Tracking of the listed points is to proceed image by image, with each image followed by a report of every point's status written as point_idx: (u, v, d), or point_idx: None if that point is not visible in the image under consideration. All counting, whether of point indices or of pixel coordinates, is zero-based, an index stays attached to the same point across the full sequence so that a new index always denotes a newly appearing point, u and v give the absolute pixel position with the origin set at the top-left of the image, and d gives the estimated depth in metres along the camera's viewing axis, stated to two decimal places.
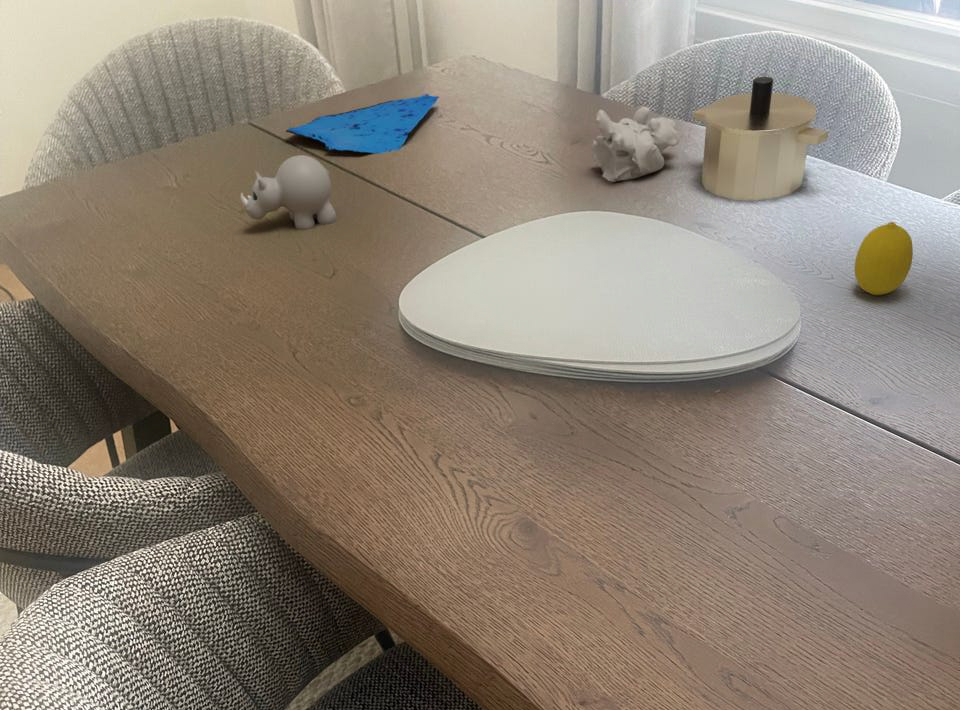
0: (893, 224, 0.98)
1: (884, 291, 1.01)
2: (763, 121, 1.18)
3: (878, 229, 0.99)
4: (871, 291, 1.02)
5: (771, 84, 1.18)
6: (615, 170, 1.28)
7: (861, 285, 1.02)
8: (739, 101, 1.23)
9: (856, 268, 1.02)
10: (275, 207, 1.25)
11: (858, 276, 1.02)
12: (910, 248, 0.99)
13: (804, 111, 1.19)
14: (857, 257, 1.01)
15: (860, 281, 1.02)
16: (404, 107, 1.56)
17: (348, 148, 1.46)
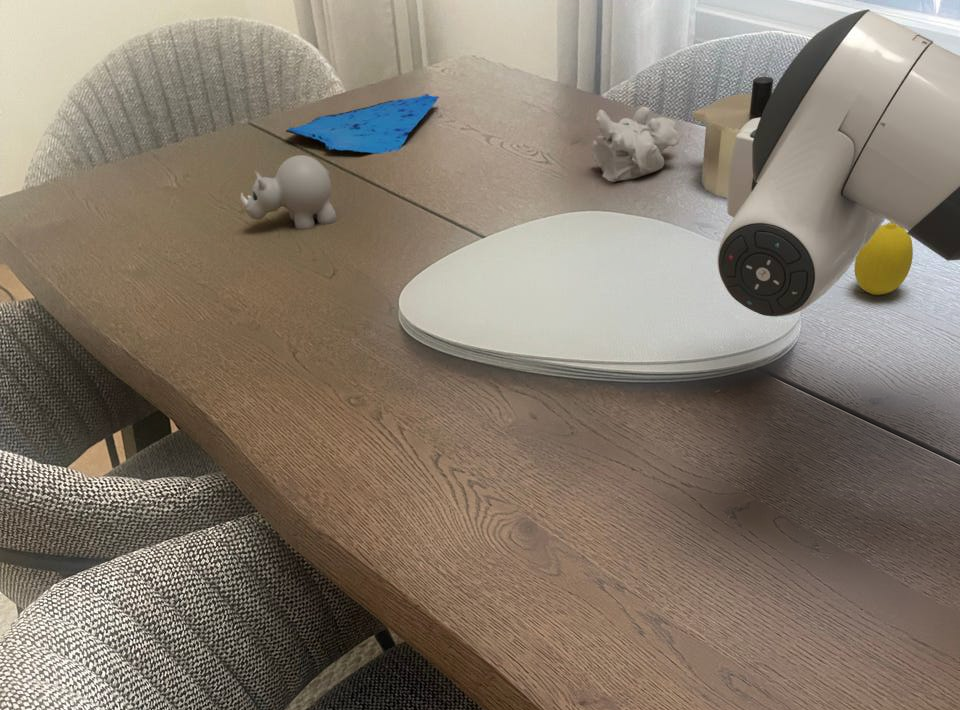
0: (893, 224, 0.98)
1: (884, 291, 1.01)
2: None
3: (878, 229, 0.99)
4: (871, 291, 1.02)
5: (771, 84, 1.18)
6: (615, 170, 1.28)
7: (861, 285, 1.02)
8: (739, 101, 1.23)
9: (856, 268, 1.02)
10: (275, 207, 1.25)
11: (858, 276, 1.02)
12: (910, 248, 0.99)
13: None
14: (857, 257, 1.01)
15: (860, 281, 1.02)
16: (404, 107, 1.56)
17: (348, 148, 1.46)
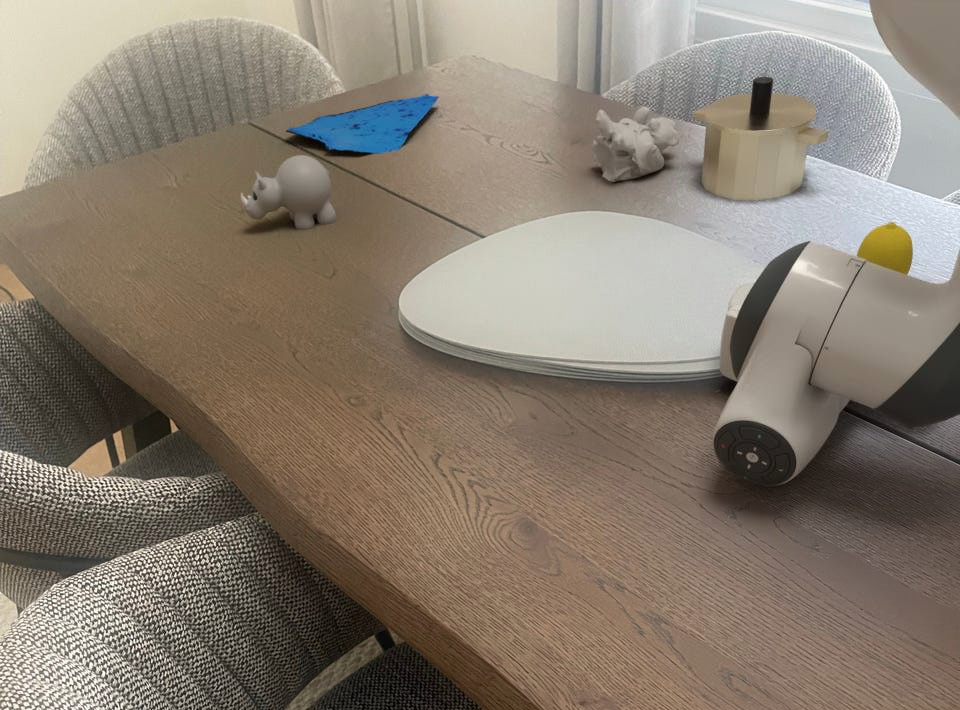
0: (893, 224, 0.98)
1: None
2: (763, 121, 1.18)
3: (878, 229, 0.99)
4: None
5: (771, 84, 1.18)
6: (615, 170, 1.28)
7: None
8: (739, 101, 1.23)
9: None
10: (275, 207, 1.25)
11: None
12: (910, 248, 0.99)
13: (804, 111, 1.19)
14: None
15: None
16: (404, 107, 1.56)
17: (348, 148, 1.46)
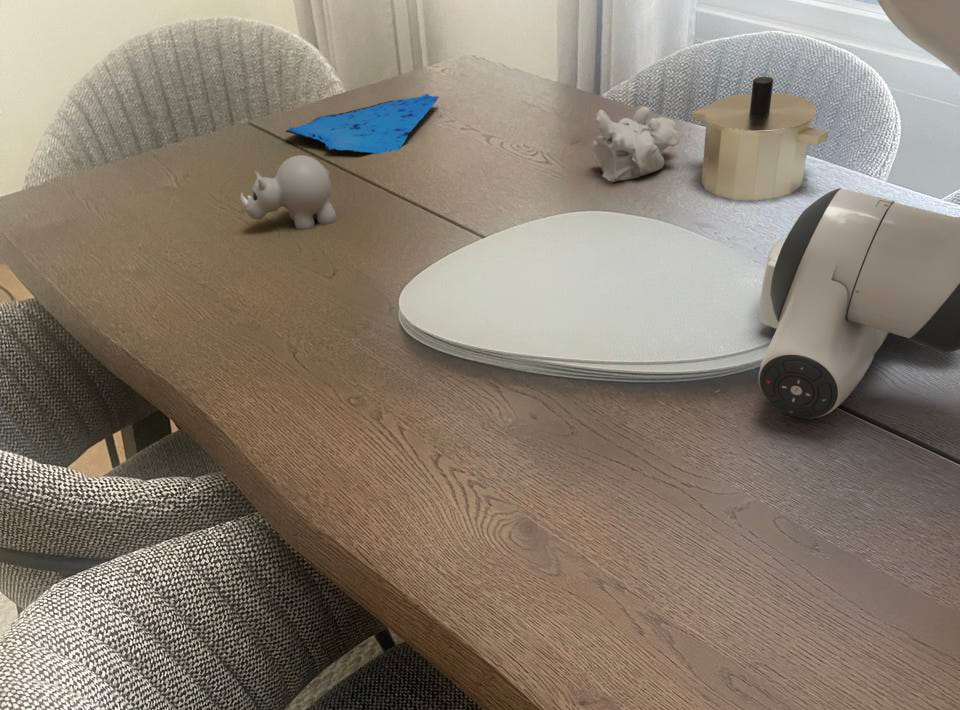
0: None
1: None
2: (763, 121, 1.18)
3: None
4: None
5: (771, 84, 1.18)
6: (615, 170, 1.28)
7: None
8: (739, 101, 1.23)
9: None
10: (275, 207, 1.25)
11: None
12: None
13: (804, 111, 1.19)
14: None
15: None
16: (404, 107, 1.56)
17: (348, 148, 1.46)
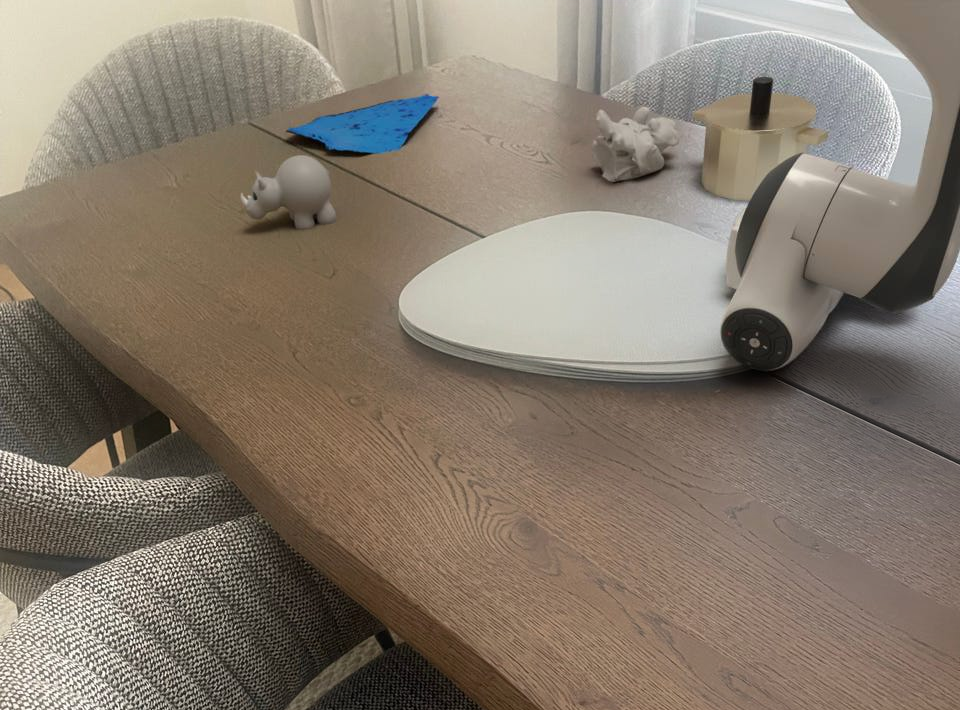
0: None
1: None
2: (763, 121, 1.18)
3: None
4: None
5: (771, 84, 1.18)
6: (615, 170, 1.28)
7: None
8: (739, 101, 1.23)
9: None
10: (275, 207, 1.25)
11: None
12: None
13: (804, 111, 1.19)
14: None
15: None
16: (404, 107, 1.56)
17: (348, 148, 1.46)
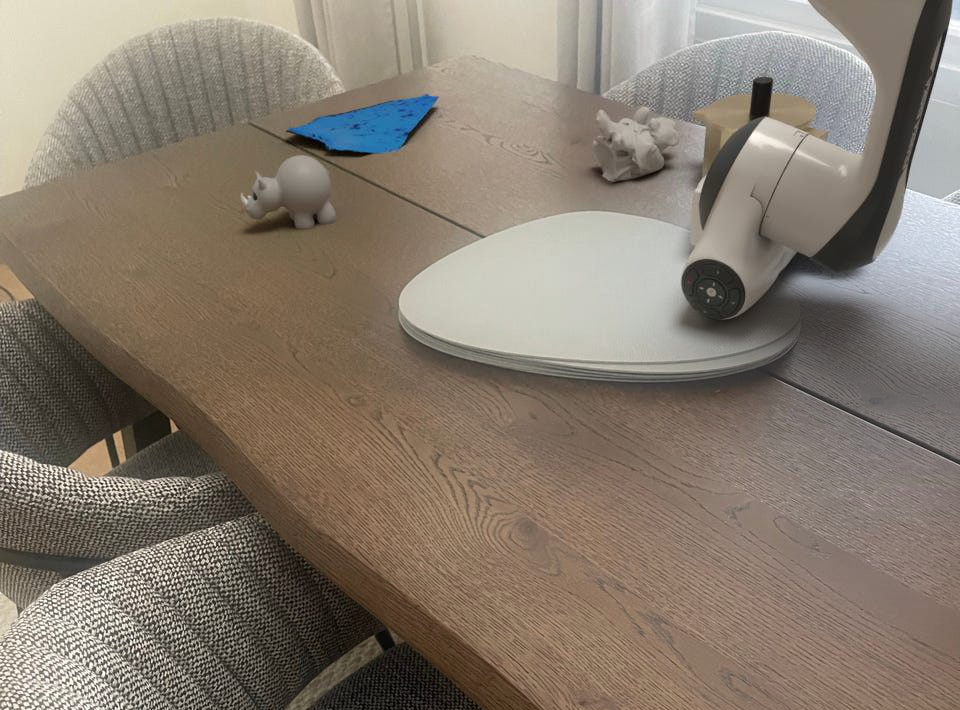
0: None
1: None
2: None
3: None
4: None
5: (771, 84, 1.18)
6: (615, 170, 1.28)
7: None
8: (739, 101, 1.23)
9: None
10: (275, 207, 1.25)
11: None
12: None
13: (804, 111, 1.19)
14: None
15: None
16: (404, 107, 1.56)
17: (348, 148, 1.46)
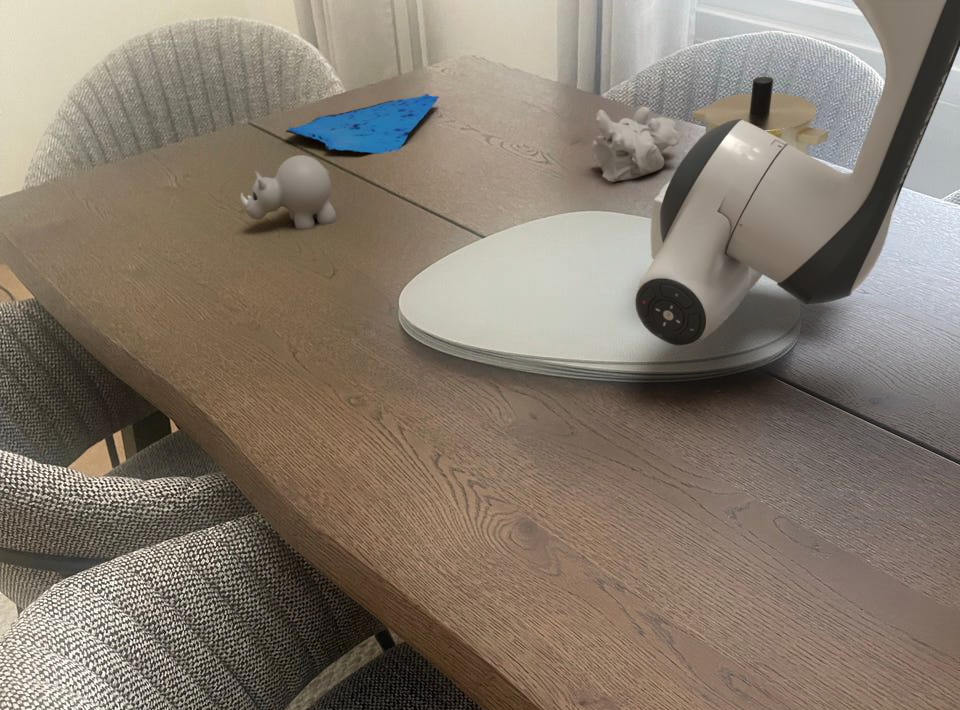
0: None
1: None
2: (763, 121, 1.18)
3: None
4: None
5: (771, 84, 1.18)
6: (615, 170, 1.28)
7: None
8: (739, 101, 1.23)
9: None
10: (275, 207, 1.25)
11: None
12: None
13: (804, 111, 1.19)
14: None
15: None
16: (404, 107, 1.56)
17: (348, 148, 1.46)
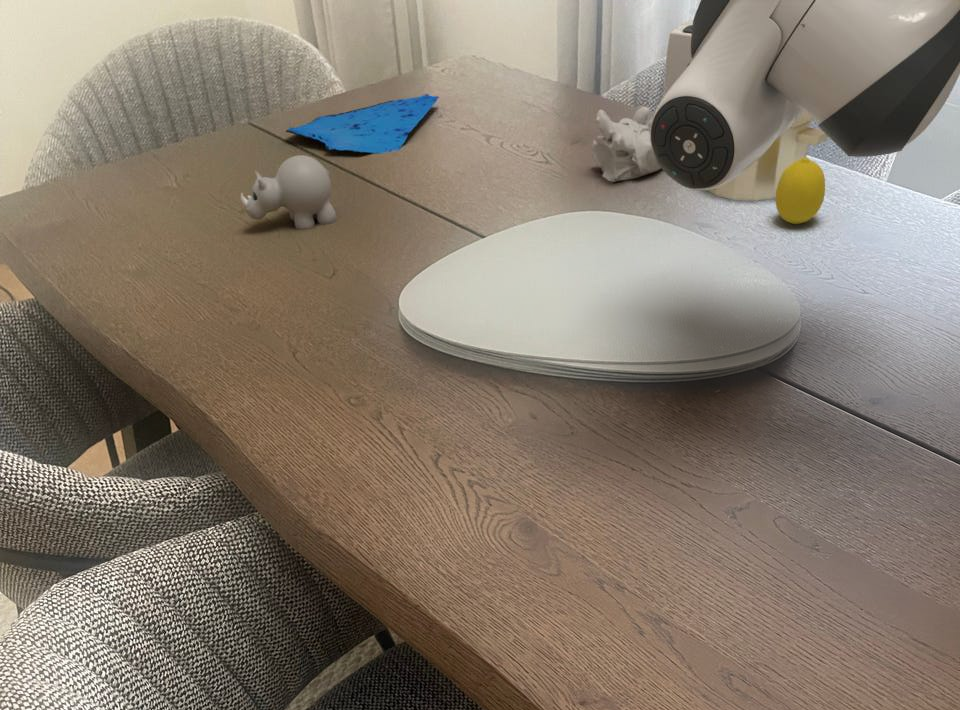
0: (806, 159, 1.12)
1: (801, 220, 1.15)
2: None
3: (794, 164, 1.12)
4: (790, 220, 1.15)
5: None
6: (615, 170, 1.28)
7: (781, 215, 1.16)
8: None
9: (776, 200, 1.15)
10: (275, 207, 1.25)
11: (778, 207, 1.15)
12: (822, 180, 1.12)
13: None
14: (777, 190, 1.14)
15: (780, 212, 1.15)
16: (404, 107, 1.56)
17: (348, 148, 1.46)
